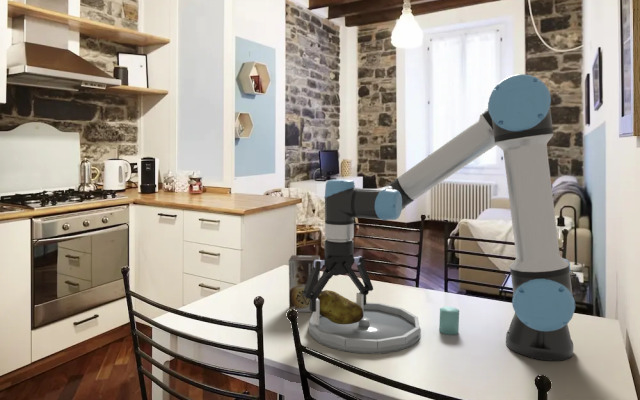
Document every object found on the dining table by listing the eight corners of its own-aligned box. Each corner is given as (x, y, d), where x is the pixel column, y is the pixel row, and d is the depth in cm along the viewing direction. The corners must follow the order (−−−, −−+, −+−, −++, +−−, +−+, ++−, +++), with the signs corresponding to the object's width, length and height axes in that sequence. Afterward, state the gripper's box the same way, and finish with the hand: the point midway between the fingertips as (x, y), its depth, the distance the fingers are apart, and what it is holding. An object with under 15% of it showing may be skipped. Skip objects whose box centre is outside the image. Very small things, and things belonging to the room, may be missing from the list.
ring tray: (444, 342, 119) (444, 331, 119) (336, 361, 108) (336, 349, 108) (384, 306, 147) (384, 297, 146) (293, 318, 135) (293, 308, 135)
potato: (352, 331, 117) (353, 300, 116) (308, 322, 124) (308, 292, 123) (366, 321, 124) (366, 291, 124) (323, 312, 131) (324, 284, 130)
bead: (462, 333, 125) (463, 311, 125) (446, 336, 124) (447, 313, 123) (450, 326, 130) (451, 305, 129) (435, 329, 128) (436, 308, 128)
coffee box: (320, 306, 147) (321, 255, 145) (318, 313, 141) (318, 260, 139) (291, 304, 148) (291, 254, 146) (288, 311, 141) (288, 259, 140)
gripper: (373, 234, 130) (372, 310, 132) (290, 239, 121) (290, 321, 123) (387, 238, 123) (385, 318, 125) (300, 245, 114) (299, 331, 116)
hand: (338, 320), depth 124 cm, fingers closed on potato, 12 cm apart
